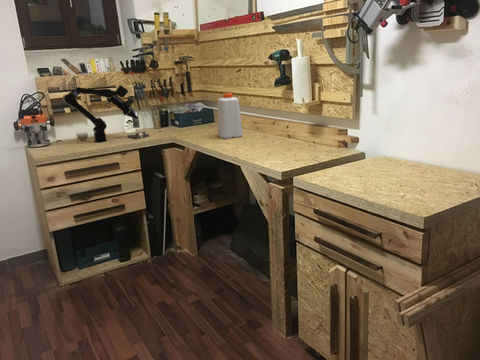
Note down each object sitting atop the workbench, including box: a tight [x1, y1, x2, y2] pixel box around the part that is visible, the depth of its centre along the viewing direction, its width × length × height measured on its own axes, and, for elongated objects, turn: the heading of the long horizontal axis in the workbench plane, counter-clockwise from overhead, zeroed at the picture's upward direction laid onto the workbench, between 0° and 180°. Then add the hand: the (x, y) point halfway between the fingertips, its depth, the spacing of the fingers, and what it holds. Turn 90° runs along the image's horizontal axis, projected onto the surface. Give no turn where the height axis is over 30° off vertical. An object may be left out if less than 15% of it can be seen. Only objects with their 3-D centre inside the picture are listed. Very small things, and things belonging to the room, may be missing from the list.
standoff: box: [131, 109, 141, 129], centre depth 275 cm, size 4×4×12 cm
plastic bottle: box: [217, 92, 244, 139], centre depth 261 cm, size 15×15×28 cm
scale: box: [126, 131, 150, 140], centre depth 278 cm, size 11×13×4 cm
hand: (137, 117), depth 275 cm, fingers closed on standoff, 4 cm apart
